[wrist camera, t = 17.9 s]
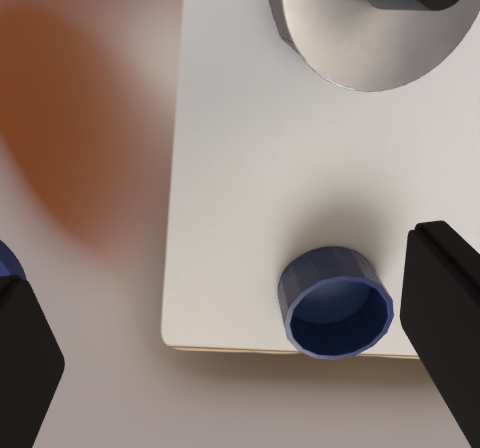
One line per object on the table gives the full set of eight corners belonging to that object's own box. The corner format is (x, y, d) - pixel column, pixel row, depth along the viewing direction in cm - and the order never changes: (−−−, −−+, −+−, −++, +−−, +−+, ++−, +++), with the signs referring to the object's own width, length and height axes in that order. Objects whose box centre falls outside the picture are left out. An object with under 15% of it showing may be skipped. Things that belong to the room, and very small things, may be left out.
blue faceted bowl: (269, 321, 48) (275, 356, 43) (288, 241, 43) (297, 271, 38) (359, 328, 49) (374, 362, 45) (388, 251, 44) (408, 281, 39)
